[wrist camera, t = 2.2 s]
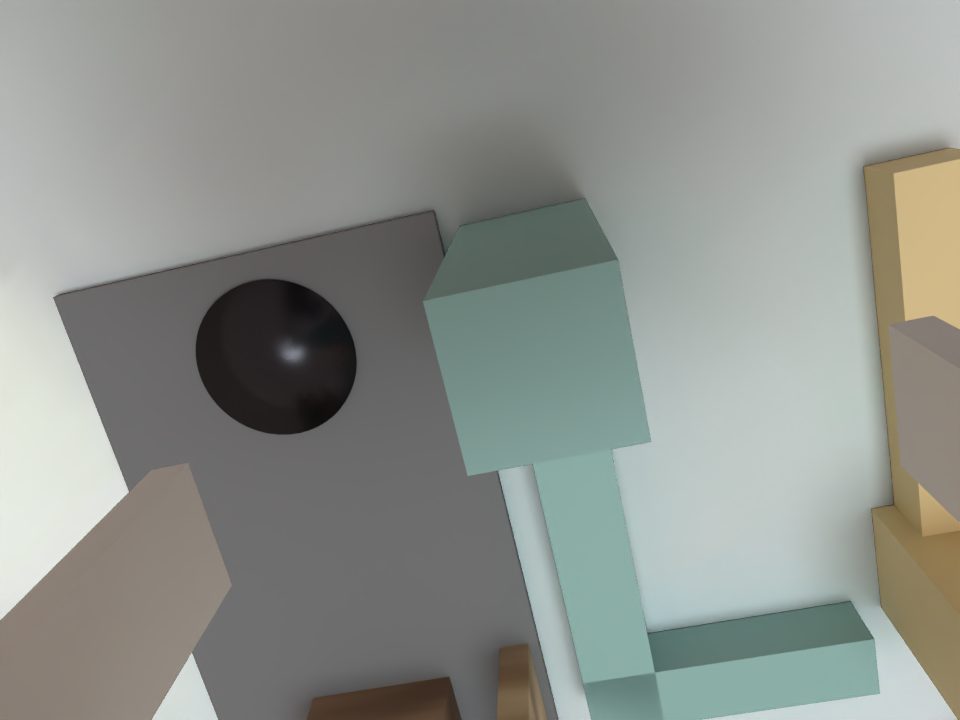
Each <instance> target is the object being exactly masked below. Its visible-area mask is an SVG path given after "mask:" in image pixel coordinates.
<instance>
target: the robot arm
mask: <svg viewBox="0 0 960 720" xmlns="http://www.w3.org/2000/svg"><path fill="white" fill-rule="evenodd" d="M888 329H889V341H890V352H891V363H892V374H893V385H894V396H895V407H896V418H897V429H898V440H899V452H900V463H901V467H903V468H904V469H905V470H906V471H907V472H908V473H909V474H910V475H911V476H912V477H913V478H914V479H915V480H916V481H917V482H918V483H919V484H920V485H921V486H922V487H923V488H924V489H925V490H926V491H927V492H928V493H929V494H930V495H931V496H932V497H933V498H934V499H935V500H936V501H937V502H938V503H939V504H940V505H941V506H943V507H944V508H945V509H946V510H947V511H948V512H949V513H950V514H951V515H952V516H953V517H954V518H955V519H956V520H957V521H958V522H959V523H960V329H958V328H956V327H954V326H952V325H950V324H948V323H947V322H945V321H943V320H941V319H939V318H937V317H935V316H928V317H923V318H918V319H913V320H908V321H903V322H898V323H893V324H888ZM231 586H232V584H231V581H230V578H229V576H228V573H227V570H226V567H225V564H224V562H223V559H222V556H221V553H220V551H219V548H218V545H217V542H216V539H215V537H214V534H213V531H212V528H211V525H210V523H209V520H208V517H207V514H206V512H205V509H204V506H203V503H202V500H201V498H200V495H199V492H198V489H197V486H196V484H195V481H194V478H193V475H192V472H191V470H190V467H189V464H188V463H185V464H180V465H175V466H170V467H165V468H160V469H155V470H151V471H150V472H149V473H148V474H147V475H146V476H145V477H144V478H143V479H142V480H141V481H140V482H139V483H138V484H137V485H136V486H135V487H134V488H133V489H132V490H131V491H130V492H129V493H128V494H127V495H126V496H125V497H124V498H123V499H122V500H121V501H120V502H119V503H118V504H117V505H116V506H115V507H114V508H113V509H112V510H111V511H110V512H109V513H108V514H107V515H106V516H105V517H104V518H103V519H102V520H101V521H100V522H99V523H98V524H97V525H96V526H95V527H94V528H93V529H92V530H91V531H90V532H89V533H88V534H87V535H86V536H85V537H84V538H83V539H82V540H81V541H80V542H79V543H78V544H77V545H76V546H75V547H74V548H73V549H72V550H71V551H70V552H69V553H68V554H67V555H66V556H65V557H64V558H63V559H62V560H61V561H60V562H59V563H58V564H57V565H56V566H55V567H54V568H53V569H52V570H51V571H50V572H49V573H48V574H47V575H46V576H45V577H44V578H43V579H42V580H41V581H40V582H39V583H38V584H37V585H36V586H35V587H34V588H33V589H32V590H31V591H30V592H29V593H28V594H27V595H26V596H25V597H24V598H23V599H22V600H21V601H20V602H19V603H18V604H17V605H16V606H15V607H14V608H13V609H12V610H11V611H10V612H8V613H7V614H6V615H5V616H4V617H3V618H2V619H1V620H0V720H151V719H152V718H153V716H154V714H155V713H156V711H157V709H158V708H159V706H160V704H161V703H162V701H163V699H164V698H165V696H166V694H167V693H168V691H169V689H170V688H171V686H172V684H173V683H174V681H175V679H176V678H177V676H178V674H179V673H180V671H181V669H182V668H183V666H184V664H185V663H186V661H187V659H188V658H189V656H190V654H191V653H192V651H193V649H194V648H195V646H196V644H197V643H198V641H199V639H200V638H201V636H202V634H203V633H204V631H205V629H206V628H207V626H208V624H209V623H210V621H211V619H212V618H213V616H214V614H215V613H216V611H217V609H218V608H219V606H220V604H221V603H222V601H223V599H224V598H225V596H226V594H227V593H228V591H229V589H230V588H231Z"/></svg>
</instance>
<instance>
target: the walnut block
mask: <svg viewBox="0 0 960 720" xmlns="http://www.w3.org/2000/svg"><path fill="white" fill-rule="evenodd" d="M306 720H462V719H461V715H460V712H459V708H458V705H457V701H456V698H455V694H454V691H453V687H452V684H451V680H450V677H443V678H437V679H431V680H424V681H418V682H411V683H405V684H399V685H392V686H386V687H379V688H373V689H367V690H360V691H354V692H348V693H341V694H335V695H328V696H322V697H316V698H314V699H313V702H312V705H311V708H310V710H309V713H308V716H307V719H306Z"/></svg>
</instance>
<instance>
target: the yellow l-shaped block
mask: <svg viewBox="0 0 960 720" xmlns="http://www.w3.org/2000/svg"><path fill="white" fill-rule="evenodd" d="M864 175H865V186H866V197H867V208H868V219H869V230H870V241H871V252H872V263H873V274H874V286H875V297H876V308H877V319H878V330H879V341H880V352H881V363H882V374H883V385H884V396H885V408H886V419H887V430H888V441H889V452H890V463H891V474H892V485H893V496H894V505H891V506H885V507H879V508H873V509H872V519H873V529H874V539H875V549H876V559H877V569H878V580H879V590H880V600H881V608H882V609H883V611H884V612H885V614H886V615H887V617H888V618H889V620H890V621H891V622H892V624H893V625H894V627H895V628H896V630H897V631H898V633H899V634H900V636H901V637H902V638H903V640H904V641H905V643H906V644H907V646H908V647H909V649H910V650H911V652H912V653H913V655H914V656H915V657H916V659H917V660H918V662H919V663H920V665H921V666H922V668H923V669H924V671H925V672H926V674H927V675H928V676H929V678H930V679H931V681H932V682H933V684H934V685H935V687H936V688H937V690H938V691H939V693H940V694H941V695H942V697H943V698H944V700H945V701H946V703H947V704H948V706H949V707H950V709H951V710H952V712H953V713H954V714H955V716H956V717H957V719H958V720H960V523H959V522H958V521H957V520H956V519H955V518H954V517H953V516H952V515H951V514H950V513H949V512H948V511H947V510H946V509H945V508H944V507H943V506H941V505H940V504H939V503H938V502H937V501H936V500H935V499H934V498H933V497H932V496H931V495H930V494H929V493H928V492H927V491H926V490H925V489H924V488H923V487H922V486H921V485H920V484H919V483H918V482H917V481H916V480H915V479H914V478H913V477H912V476H911V475H910V474H909V473H908V472H907V471H906V470H905V469H904V468H903V467H901V463H900V452H899V440H898V429H897V418H896V407H895V396H894V385H893V374H892V363H891V352H890V341H889V329H888V324H893V323H898V322H903V321H908V320H913V319H918V318H923V317H928V316H935V317H937V318H939V319H941V320H943V321H945V322H947V323H948V324H950V325H952V326H954V327H956V328H958V329H960V149H955V148H947V149H942V150H938V151H933V152H929V153H924V154H919V155H915V156H910V157H906V158H901V159H896V160H892V161H887V162H883V163H878V164H874V165H869V166H864Z"/></svg>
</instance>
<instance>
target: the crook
mask: <svg viewBox="0 0 960 720" xmlns="http://www.w3.org/2000/svg"><path fill="white" fill-rule="evenodd" d="M423 304H424V307H425V311H426V315H427V319H428V323H429V327H430V331H431V335H432V339H433V343H434V346H435V350H436V354H437V358H438V362H439V366H440V370H441V374H442V378H443V382H444V386H445V389H446V393H447V397H448V401H449V405H450V409H451V413H452V417H453V421H454V425H455V428H456V432H457V436H458V440H459V444H460V448H461V452H462V456H463V460H464V464H465V467H466V471H467V475H468V476H471V475H476V474H481V473H487V472H492V471H498V470H503V469H508V468H514V467H519V466H524V465H530V464H533V468H534V472H535V477H536V481H537V485H538V490H539V494H540V498H541V503H542V507H543V511H544V516H545V520H546V524H547V529H548V533H549V538H550V542H551V546H552V551H553V555H554V559H555V564H556V568H557V572H558V577H559V581H560V585H561V590H562V594H563V598H564V603H565V607H566V612H567V616H568V620H569V625H570V629H571V633H572V638H573V642H574V646H575V651H576V655H577V659H578V664H579V668H580V672H581V677H582V681H583V686H584V690H585V694H586V699H587V703H588V707H589V712H590V716H591V720H702V719H709V718H716V717H723V716H729V715H736V714H743V713H750V712H757V711H764V710H771V709H778V708H785V707H792V706H798V705H805V704H812V703H819V702H826V701H833V700H840V699H847V698H854V697H860V696H867V695H874V694H880V689H879V679H878V669H877V660H876V650H875V640H874V638H873V636H872V635H871V633H870V631H869V630H868V628H867V627H866V625H865V624H864V622H863V620H862V619H861V617H860V616H859V614H858V612H857V611H856V609H855V608H854V606H853V605H852V603H851V602H844V603H838V604H832V605H825V606H819V607H813V608H806V609H800V610H794V611H787V612H781V613H775V614H769V615H762V616H756V617H750V618H743V619H737V620H731V621H724V622H718V623H712V624H705V625H699V626H693V627H686V628H680V629H674V630H668V631H661V632H655V633H649V634H647V630H646V625H645V620H644V615H643V610H642V605H641V600H640V595H639V590H638V585H637V579H636V574H635V569H634V564H633V559H632V554H631V549H630V544H629V539H628V534H627V529H626V524H625V519H624V514H623V509H622V504H621V499H620V494H619V489H618V484H617V479H616V474H615V468H614V463H613V458H612V453H611V449H616V448H621V447H627V446H632V445H637V444H643V443H648V442H651V438H650V433H649V427H648V422H647V416H646V411H645V405H644V400H643V394H642V389H641V383H640V378H639V372H638V367H637V361H636V356H635V350H634V345H633V339H632V334H631V328H630V323H629V317H628V312H627V306H626V301H625V295H624V290H623V284H622V279H621V273H620V268H619V262H618V259H617V257H616V255H615V253H614V251H613V249H612V248H611V246H610V244H609V242H608V240H607V238H606V236H605V235H604V233H603V231H602V229H601V227H600V225H599V223H598V221H597V220H596V218H595V216H594V214H593V212H592V210H591V208H590V207H589V205H588V203H587V201H586V199H585V198H584V199H580V200H575V201H571V202H566V203H562V204H557V205H553V206H548V207H544V208H539V209H535V210H530V211H526V212H521V213H517V214H512V215H508V216H503V217H499V218H494V219H490V220H485V221H481V222H476V223H472V224H467V225H463V226H460V227H459V229H458V231H457V233H456V235H455V237H454V239H453V241H452V243H451V245H450V247H449V249H448V251H447V253H446V255H445V257H444V259H443V261H442V263H441V265H440V267H439V269H438V271H437V273H436V275H435V277H434V280H433V282H432V284H431V286H430V288H429V290H428V292H427V294H426V296H425V298H424V300H423Z"/></svg>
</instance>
